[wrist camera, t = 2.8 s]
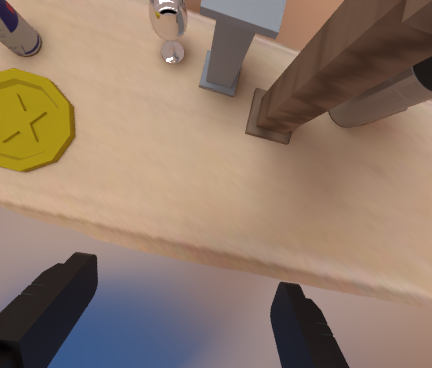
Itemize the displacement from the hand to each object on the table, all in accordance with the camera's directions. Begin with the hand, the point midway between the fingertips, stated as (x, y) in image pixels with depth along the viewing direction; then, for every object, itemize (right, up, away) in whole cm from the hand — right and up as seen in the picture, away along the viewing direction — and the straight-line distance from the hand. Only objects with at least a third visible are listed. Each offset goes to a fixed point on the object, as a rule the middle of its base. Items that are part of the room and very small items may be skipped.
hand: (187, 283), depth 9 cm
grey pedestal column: (+2, +26, +33) cm, 42 cm away
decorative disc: (-33, +15, +29) cm, 47 cm away
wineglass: (-7, +30, +33) cm, 45 cm away
